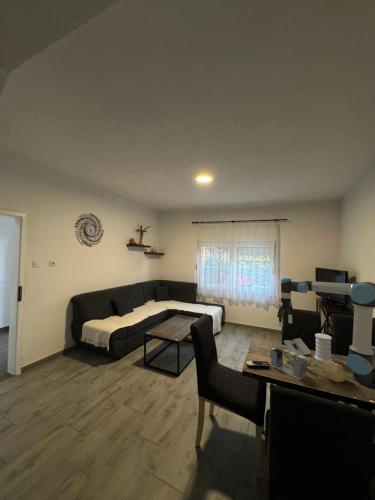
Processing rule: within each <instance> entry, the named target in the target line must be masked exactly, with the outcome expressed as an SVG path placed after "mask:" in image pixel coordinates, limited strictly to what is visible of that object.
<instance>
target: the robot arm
mask: <svg viewBox="0 0 375 500" xmlns="http://www.w3.org/2000/svg"><path fill="white" fill-rule="evenodd" d="M292 292H294V293H295V292H296V293H300V294H303V293H304V294H307V293H308V292H320V293H329V294H340V295H349V296H350V298H351V305H352V306H354V308H353V327H352V344H351V345H349V349H348V350H349V351H348V355H347V356H346V359H345V361H346V365H347V366H348V367H349V369H350V370H352V379H353V380H354V381H355V382H356V383H358V384H360V385H363V386H364V387H367V388H370V389H375V346H374V345H372V336H373V335H372V333H373V332H372V331H373V318H374V317H373V313H374V310H375V282H370V281H362V282H361V281H360V282H353V283H351V282H350V283H347V282H330V281H329V282H328V281H313V280H304V281H292V278H289V277H282V278H280V302H281V304H279V308H278V311H277V316H276V317H277V318H278V326H279V327H281V328H282V327H283V326H284V324H283V321H284V318H283V317H284V314H285V312H286V311H287V313H288V321H287V322H288V324H293V316H294V314H295V311H294V309H293V305H292V304H293V303H292Z"/></svg>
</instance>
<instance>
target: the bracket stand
mask: <svg viewBox="0 0 375 500" xmlns="http://www.w3.org/2000/svg"><path fill="white" fill-rule="evenodd" d="M269 358H270V363H269V366H271V367H273V368H274V369H277V370H279V371H281V372H283V373H284V374H287V375H289V376H290V377H292V378H295V379H297V380H298V381H302V380H303V379H305V378H307V377H308V373H306V369H308V367H307V360H305V359H303V358H301V357H299V362H298V361H295V360H293V364H292V366H291V365H289V364H286V363H284V350H282V349H281V348H278V347H276V348H273V349H271V350H269Z"/></svg>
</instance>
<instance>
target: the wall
mask: <svg viewBox="0 0 375 500" xmlns="http://www.w3.org/2000/svg"><path fill="white" fill-rule="evenodd" d="M283 343H284V345H285V347H287V350H289V351H292V352H294V353H297V354H300V355H302V356H305V355H310V354H312V351H311V350H310V349H309V348H308V346H307V345H306V344H305V342H304V341H303V340H302V338H300V337H299V338H294V339H291V340H289V339H287V340H283Z"/></svg>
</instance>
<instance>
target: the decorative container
mask: <svg viewBox="0 0 375 500" xmlns="http://www.w3.org/2000/svg"><path fill="white" fill-rule="evenodd" d="M314 337H315V354H314V358H315V360H316V361H318V362H320V363H325V362H326V361H333V358H332V355H331V353H332V350H331V349H332V339H333V338H332V336H330V335H328V334H325V333H321V332H320V333H319V332H318V333H315V334H314Z"/></svg>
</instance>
